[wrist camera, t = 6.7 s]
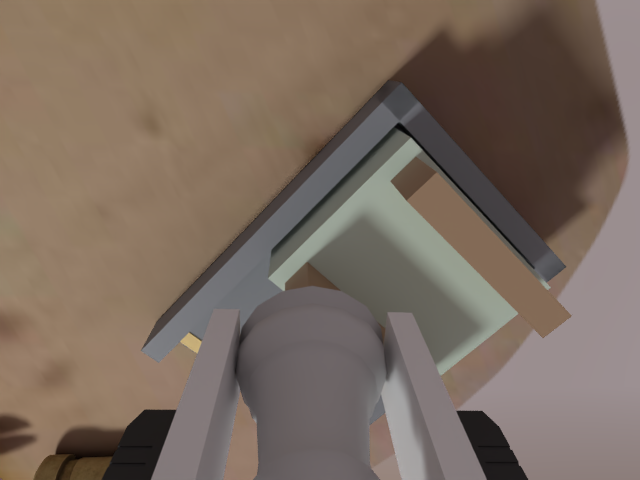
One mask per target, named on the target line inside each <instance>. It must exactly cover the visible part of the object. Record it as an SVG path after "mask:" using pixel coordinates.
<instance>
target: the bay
mask: <svg viewBox="0 0 640 480" xmlns="http://www.w3.org/2000/svg"><path fill="white" fill-rule="evenodd" d="M393 127H395V128H396V129H398V130H399V131H401V132H403V133H404V134H406V135H408V136H409V137H411V138H412V139H413V140H414V141H415V143H416V144H417V145H418V146H419V147H420V148H421V149H422V150H423V151H424V152H425V153H426V154H427V155H428V156H429V158H430V159H431V160H432V161H433V162H434V163H435V164H436V165H437V166H438V167H439V168H440V169H441V170H442V172H443V173H444V174H445V175H446V176H447V177H448V178H449V179H450V180H451V181H452V182H453V183H454V184H455V185H456V187H457V188H458V189H459V190H460V191H461V192H462V193H463V194H464V195H465V196H466V197H467V198H468V199H469V201H470V202H471V203H472V204H473V205H474V206H475V207H476V208H477V209H478V210H479V211H480V212H481V213H482V214H483V216H484V217H485V218H486V219H487V220H488V221H489V222H490V223H491V224H492V225H493V226H494V227H495V228H496V230H497V231H498V232H499V233H500V234H501V235H502V236H503V237H504V238H505V239H506V240H507V241H508V242H509V243H510V245H511V246H512V247H513V248H514V249H515V250H516V251H517V252H518V253H519V254H520V255H521V256H522V257H523V259H524V260H525V261H526V262H527V263H528V264H529V265H530V266H531V267H532V268H533V269H534V270H535V271H536V273H537V274H538V275H539V276H540V277H541V278H542V279H543V280H544V281H545V282H546V283H547V282H548V281H549V280H551V279H552V278H553V277H554V276H555V275H557V274H558V273H559V272H560V271H562V270H563V269H564V268H565V267H566V266H565V265H564V264H563V262H562V261H561V260H560V259H559V258H558V257H557V256H556V255H555V254H554V252H553V251H552V250H551V249H550V248H549V247H548V246H547V245H546V243H545V242H544V241H543V240H542V239H541V238H540V237H539V236H538V234H537V233H536V232H535V231H534V230H533V229H532V228H531V227H530V226H529V224H528V223H527V222H526V221H525V220H524V219H523V218H522V217H521V215H520V214H519V213H518V212H517V211H516V210H515V209H514V208H513V206H512V205H511V204H510V203H509V202H508V201H507V200H506V199H505V198H504V196H503V195H502V194H501V193H500V192H499V191H498V190H497V189H496V187H495V186H494V185H493V184H492V183H491V182H490V181H489V180H488V178H487V177H486V176H485V175H484V174H483V173H482V172H481V171H480V169H479V168H478V167H477V166H476V165H475V164H474V163H473V162H472V161H471V159H470V158H469V157H468V156H467V155H466V154H465V153H464V152H463V150H462V149H461V148H460V147H459V146H458V145H457V144H456V143H455V141H454V140H453V139H452V138H451V137H450V136H449V135H448V134H447V133H446V131H445V130H444V129H443V128H442V127H441V126H440V125H439V124H438V122H437V121H436V120H435V119H434V118H433V117H432V116H431V115H430V113H429V112H428V111H427V110H426V109H425V108H424V107H423V106H422V105H421V103H420V102H419V101H418V100H417V99H416V98H415V97H414V96H413V94H412V93H411V92H410V91H409V90H408V89H407V88H406V87H405V85H404V84H403V83H402V82H397V81H390V80H388V81H387V82H386V83H385V84H384V85H383V86H382V87H381V89H380V90H379V91H378V92H377V93H376V94H375V95H374V96H373V97H372V98H371V99H370V100H369V101H368V102H367V103H366V104H365V105H364V106H363V107H362V108H361V109H360V110H359V111H358V112H357V114H356V115H355V116H354V117H353V118H352V119H351V120H350V121H349V122H348V123H347V124H346V125H345V126H344V127H343V128H342V129H341V130H340V131H339V132H338V133H337V134H336V135H335V136H334V137H333V139H332V140H331V141H330V142H329V143H328V144H327V145H326V146H325V147H324V148H323V149H322V150H321V151H320V152H319V153H318V154H317V155H316V156H315V157H314V158H313V159H312V160H311V161H310V162H309V164H308V165H307V166H306V167H305V168H304V169H303V170H302V171H301V172H300V173H299V174H298V175H297V176H296V177H295V178H294V179H293V180H292V181H291V182H290V183H289V184H288V185H287V186H286V187H285V188H284V190H283V191H282V192H281V193H280V194H279V195H278V196H277V197H276V198H275V199H274V200H273V201H272V202H271V203H270V204H269V205H268V206H267V207H266V208H265V209H264V210H263V211H262V212H261V213H260V215H259V216H258V217H257V218H256V219H255V220H254V221H253V222H252V223H251V224H250V225H249V226H248V227H247V228H246V229H245V230H244V231H243V232H242V233H241V234H240V235H239V236H238V237H237V238H236V240H235V241H234V242H233V243H232V244H231V245H230V246H229V247H228V248H227V249H226V250H225V251H224V252H223V253H222V254H221V255H220V256H219V257H218V258H217V259H216V260H215V261H214V262H213V263H212V265H211V266H210V267H209V268H208V269H207V270H206V271H205V272H204V273H203V274H202V275H201V276H200V277H199V278H198V279H197V280H196V281H195V282H194V283H193V284H192V285H191V286H190V287H189V288H188V290H187V291H186V292H185V293H184V294H183V295H182V296H181V297H180V298H179V299H178V300H177V301H176V302H175V303H174V304H173V305H172V306H171V307H170V308H169V309H168V310H167V311H166V312H165V313H164V315H163V316H162V317H161V318H160V319H159V320H158V321H157V322H156V324H155V326H154V328H153V329H152V331H151V333H150V335H149V337H148V339H147V341H146V342H145V344H144V346H143V348H142V350H141V351H142V352H143V353H145V354H146V355H148V356H149V357H151V358H152V359H154V360H155V361H157V362H158V363H159V362H160V361H161V360H162V359H163V358H164V357H165V356H166V355H167V354H168V353H169V352H170V351H171V350H172V349H173V348H174V347H175V346H176V345H177V344H178V343H179V342H180V343H182V344H183V345H185V346H186V347H187V348H189V349H190V350H192V351H193V352H195V353H196V354H197V353H198V351H199V348H200V345H201V343H202V340H203V337H204V334H205V332H206V329H207V326H208V324H209V321H210V318H211V315H212V313H213V310H214V309H240V334H241V329H242V327H243V325H244V324H245V322H246V321H247V320H248V318H249V317H250V316H251V314H252V313H253V311H254V310H255V309H256V307H257V306H258V305H260V304H262V303H263V302H265V301H267V300H268V299H270V298H272V297H273V296H275V295H277V294H278V293H280V292H282V291H283V290H282V289H280V288H279V287H278V286H277V285H275V284H274V283H273V282H272V281H270V280H269V279H268V274H269V266H270V258H271V250H272V249H273V248H274V247H275V246H276V245H277V244H278V243H279V242H280V241H281V240H282V239H283V238H284V237H285V236H286V235H287V234H288V233H289V232H290V231H291V230H292V229H293V228H294V227H295V226H296V225H297V224H298V223H299V222H300V221H301V220H302V218H303V217H304V216H305V215H306V214H307V213H308V212H309V211H310V210H311V209H312V208H313V207H314V206H315V205H316V204H317V203H318V202H319V201H320V200H321V199H322V198H323V197H324V196H325V195H326V194H327V193H328V192H329V191H330V190H331V189H332V188H333V187H334V186H335V185H336V184H337V183H338V182H339V181H340V180H341V179H342V178H343V177H344V176H345V175H346V174H347V173H348V172H349V171H350V170H351V169H352V168H353V167H354V166H355V165H356V164H357V163H358V162H359V161H360V160H361V159H362V158H363V157H364V156H365V155H366V154H367V153H368V152H369V151H370V150H371V149H372V148H373V147H374V146H375V145H376V144H377V143H378V142H379V141H380V140H381V139H382V138H383V137H384V136H385V135H386V134H387V133H388V132H389V131H390V130H391V129H392V128H393ZM384 413H385V408H384V404H383V400H382V396H381V395H380V398H379V401H378V402H377V403H376V406H375V409H374V412H373V415H372V417H371V418H370V419H369V425H371V424H372V423H373V422H374V421H375V420H377V419H378V418H379V417H380V416H382V415H383V414H384Z"/></svg>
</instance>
